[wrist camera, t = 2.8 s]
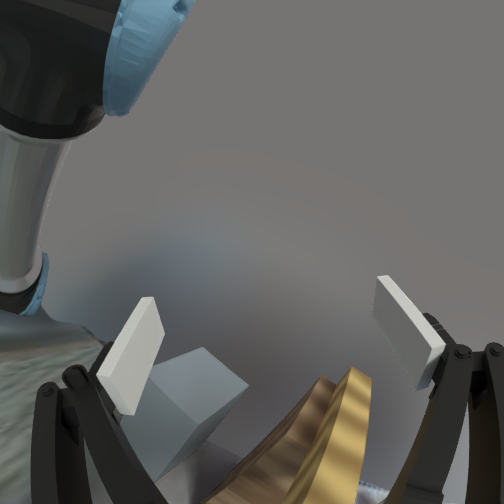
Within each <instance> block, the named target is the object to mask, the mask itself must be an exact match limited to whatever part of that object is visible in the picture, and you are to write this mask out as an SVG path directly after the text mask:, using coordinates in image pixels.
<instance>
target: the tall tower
mask: <svg viewBox="0 0 504 504" xmlns="http://www.w3.org/2000/svg"><path fill="white" fill-rule="evenodd" d="M335 387H336V384H334V383H333V382H331V381H330V380H328V379H327V378H325V377H324V376H322V375H321V376H320V377H319V379H318V380H317V381H316V382H315V384H314V385H313V386H312V387H311V388H310V390H309V391H308V392H307V393H306V394H305V395H304V396H303V398H302V399H301V400H300V401H299V402H298V403H297V404H296V406H295V407H294V408H293V409H292V410H291V411H290V412H289V413H288V415H287V416H286V417H285V418H284V419H283V420H282V421H281V422H280V423H279V424H278V425H277V426H276V427H275V428H274V430H273V431H272V432H271V433H270V434H269V435H268V436H267V437H266V438H265V439H264V440H263V441H262V442H261V443H260V444H259V445H258V446H257V447H256V448H255V449H253V451H251V453H249V455H247V456H246V457H245V458H244V459H243V460H242V461H241V462H240V463H239V464H238V465H237V466H236V467H235V468H234V469H233V470H232V471H231V473H230V474H229V475H228V476H227V477H226V478H225V479H224V480H223V481H222V482H221V483H220V484H219V485H218V486H217V487H216V488H215V489H214V490H213V491H212V492H211V493H210V494H209V495H208V496H207V497H206V498H205V499H204V500H203V501H202V502H201V503H200V504H281V503H282V501H283V499H284V497H285V496H286V494H287V492H288V490H289V488H290V487H291V485H292V483H293V481H294V479H295V477H296V475H297V474H298V472H299V470H300V468H301V466H302V464H303V462H304V460H305V458H306V456H307V453H308V451H309V449H310V447H311V445H312V443H313V441H314V438H315V436H316V434H317V432H318V429H319V427H320V425H321V422H322V420H323V418H324V415H325V413H326V410H327V408H328V406H329V403H330V400H331V398H332V395H333V393H334V390H335ZM369 414H370V409H369ZM368 423H369V419H368ZM367 432H368V427H367ZM366 440H367V435H366ZM365 447H366V443H365ZM364 453H365V450H364ZM363 460H364V456H363ZM362 465H363V462H362ZM361 471H362V468H361ZM360 477H361V473H360ZM359 480H360V478H359Z"/></svg>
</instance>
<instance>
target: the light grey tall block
mask: <svg viewBox="0 0 504 504" xmlns="http://www.w3.org/2000/svg"><path fill="white" fill-rule="evenodd" d="M248 386H249V385H248V384H247V383H245V382H244V381H243V380H242V379H240V378H239V377H238V376H237V375H235V374H234V373H233V372H232V371H230V370H229V369H228V368H227V367H226V366H224V365H223V364H222V363H221V362H220V361H218V360H217V359H216V358H215V357H214V356H212V355H211V354H210V353H209V352H208V351H207V350H205V349H204V348H203V347H201V348H199V349H197V350H194V351H191V352H189V353H186V354H184V355H181V356H178V357H176V358H173V359H171V360H168V361H165V362H163V363H160V364H157V365H155V366H152V368H151V371H150V373H149V376H148V378H147V381H146V384H145V386H144V389H143V392H142V395H141V397H140V400H139V403H138V406H137V408H136V411H135V414H134V416H133V415H126V414H123V417H122V419H121V422H120V426H121V428H122V430H123V432H124V434H125V436H126V437H127V439H128V441H129V443H130V445H131V447H132V448H133V450H134V452H135V454H136V455H137V457H138V459H139V460H140V462H141V464H142V465H143V467H144V469H145V470H146V472H147V473H148V475H149V476H150V478H151V480H152V481H153V483H154V482H155V481H157V480H158V479H159V478H161V477H162V476H164V475H165V474H166V473H168V472H169V471H170V470H172V469H173V468H174V467H176V466H177V465H178V464H180V463H181V462H182V461H184V460H185V459H186V458H187V457H189V456H190V455H191V454H192V453H194V452H195V451H196V450H197V449H199V448H200V446H201V445H202V444H203V443H204V442H205V440H206V439H207V438H208V437H209V435H210V434H211V433H212V432H213V431H214V430H215V428H216V427H217V426H218V425H219V424H220V422H221V421H222V420H223V419H224V417H225V416H226V415H227V413H228V412H229V411H230V410H231V408H232V407H233V406H234V405H235V403H236V402H237V401H238V399H239V398H240V397H241V395H242V394H243V393H244V392H245V390H246V389H247V387H248Z"/></svg>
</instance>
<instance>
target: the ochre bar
mask: <svg viewBox="0 0 504 504" xmlns="http://www.w3.org/2000/svg"><path fill="white" fill-rule="evenodd" d="M371 383H372V379H370V378H369V377H367V376H366V375H364V374H363V373H361V372H360V371H358V370H357V369H355V368H354V367H351V368H350V369H349V370H348V371H347V373H346V374H345V375H344V376H343V378H342V379H341V380H340V381H339V383H338V384H337V385H336V387H335V390H334V393H333V395H332V398H331V400H330V403H329V406H328V408H327V410H326V413H325V415H324V418H323V420H322V422H321V425H320V427H319V429H318V432H317V434H316V436H315V438H314V441H313V443H312V445H311V447H310V449H309V451H308V453H307V456H306V458H305V460H304V462H303V464H302V466H301V468H300V470H299V472H298V474H297V475H296V477H295V479H294V481H293V483H292V485H291V487H290V488H289V490H288V492H287V494H286V496H285V497H284V499H283V501H282V503H281V504H354V502H355V497H356V493H357V488H358V483H359V478H360V473H361V468H362V462H363V456H364V450H365V443H366V435H367V427H368V419H369V409H370V397H371Z"/></svg>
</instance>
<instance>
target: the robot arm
mask: <svg viewBox="0 0 504 504" xmlns="http://www.w3.org/2000/svg"><path fill="white" fill-rule="evenodd" d="M195 2H196V0H0V309H2V310H5V311H9V312H12V313H15V314H17V315H20V316H21V315H25V316H33V315H35V314H36V313H37V312H38V310H39V307H40V305H41V302H42V296H43V294H44V290H45V286H46V281H47V275H48V268H49V258H48V255H47V254H46V253H45V252H43V251H42V250H41V247H40V244H39V242H38V239H39V236H40V232H41V228H42V224H43V221H44V217H45V214H46V211H47V208H48V204H49V201H50V198H51V195H52V192H53V190H54V187H55V184H56V181H57V179H58V176H59V173H60V171H61V168H62V166H63V163H64V161H65V158H66V156H67V154H68V151H69V149H70V147H71V145H72V142H73V140H75V139H78V138H80V137H83V136H85V135H87V134H89V133H90V132H92V131H93V130H94V129H95V128H96V127H97V126H98V125H99V124H100V122H101V120H102V118H103V117H104V115H105V114H107V115H109V116H119V117H123V116H125V115H127V114H128V113H129V111H130V109H131V108H132V107H133V106H134V104H135V103H136V101H137V100H138V98H139V96H140V94H141V93H142V91H143V89H144V88H145V86H146V84H147V83H148V81H149V79H150V77H151V76H152V74H153V72H154V71H155V69H156V67H157V66H158V64H159V62H160V61H161V59H162V57H163V55H164V53H165V52H166V50H167V49H168V47H169V46H170V44H171V42H172V41H173V38H174V37H175V36H176V34H177V33H178V31H179V29H180V28H181V26H182V24H183V23H184V21H185V19H186V18H187V16H188V15H189V13H190V11H191V9H192V8H193V6H194V4H195ZM372 316H373V318H374V320H375V321H376V323H377V325H378V326H379V328H380V330H381V331H382V333H383V335H384V336H385V338H386V340H387V341H388V343H389V345H390V347H391V348H392V350H393V352H394V354H395V355H396V357H397V359H398V361H399V362H400V364H401V366H402V368H403V369H404V372H405V373H406V375H407V377H408V379H409V381H410V382H411V384H412V386H413V388H414V390H415V391H418V390H421V389H424V388H427V387H428V386H429V384H430V382H431V380H432V379H433V381H434V383H435V386H434V388H433V390H432V392H431V394H430V396H429V399H430V400H429V404H428V406H427V409H426V412H425V415H424V418H423V421H422V423H421V426H420V429H419V431H418V434H417V436H416V439H415V441H414V444H413V446H412V448H411V451H410V453H409V455H408V458H407V459H406V462H405V464H404V466H403V468H402V470H401V472H400V474H399V476H398V478H397V480H396V482H395V484H394V486H393V487H392V489H391V491H390V493H389V494H388V496H387V498H386V500H385V501H384V503H383V504H442V501H443V497H444V495H443V494H442V489H443V486H444V484H445V481H446V478H447V476H448V473H449V470H450V467H451V464H452V461H453V458H454V455H455V451H456V448H457V445H458V441H459V437H460V433H461V429H462V425H463V421H464V416H465V412H466V407H467V402H468V412H469V445H470V446H469V469H468V483H467V492H466V499H465V504H504V347H503V346H502V345H500V344H498V343H494V342H493V343H489V344H487V346H486V348H485V350H484V351H482V352H481V351H480V352H472V350H471V349H470V348H469V347H467V346H465V345H461V344H456V343H455V341H454V340H453V339H452V338H451V337H450V335H449V334H448V333H447V332H446V331H445V329H443V327H442V326H441V325H440V324H439V322H438V321H437V320H436V319H435V317H433V316H431V315H430V314H428V313H424V314H421V313H420V311H419V310H418V309H417V308H416V307H415V306H414V304H413V303H412V302H411V301H410V300H409V298H408V297H407V296H406V295H405V294H404V293H403V292H402V290H401V289H400V288H399V287H398V286H397V285H396V284H395V283H394V282H393V280H392V279H391V278H390V277H389V276H388V275H386V276H378V277H377V279H376V288H375V297H374V304H373V311H372ZM164 335H165V332H164V329H163V327H162V323H161V320H160V317H159V314H158V310H157V307H156V304H155V300H154V297H142V299H141V300H140V302H139V303H138V305H137V306H136V308H135V310H134V311H133V313H132V314H131V316H130V318H129V319H128V321H127V323H126V324H125V326H124V327H123V329H122V331H121V332H120V334H119V336H118V338H117V339H116V341H115V342H109V343H108V344H107V345H105V346H104V347H103V349H102V350H101V352H100V354H99V355H98V357H97V359H96V361H95V362H94V364H93V365H92V367H91V369H90V371H89V372H87V370H86V369H85V367H84V366H82V365H73V366H70V367H69V368H67V369H66V370H65V371H64V372H63V374H62V380H63V382H64V383H65V385H66V386H67V388H64V389H59V387H58V386H57V385H56V383H54V382H47V383H44V384H43V385H42V386H41V387H40V388H39V389H38V392H37V396H36V403H35V411H34V419H33V429H32V443H31V497H32V504H92V499H91V494H90V488H89V482H88V476H87V468H86V460H85V451H84V439H83V435H84V438H85V441H86V444H87V446H88V449H89V452H90V454H91V457H92V459H93V461H94V464H95V466H96V468H97V471H98V473H99V475H100V477H101V480H102V482H103V484H104V486H105V488H106V490H107V492H108V494H109V496H110V498H111V500H112V502H113V504H168V502H167V501H166V500H165V498H164V497H163V496H162V494H161V493H160V491H159V490H158V488H157V487H156V485H155V484H154V483H153V481H152V480H151V478H150V476H149V475H148V473H147V472H146V470H145V469H144V467H143V465H142V464H141V462H140V460H139V459H138V457H137V455H136V454H135V452H134V450H133V448H132V447H131V445H130V443H129V441H128V439H127V437H126V436H125V434H124V432H123V430H122V428H121V426H120V424H119V422H118V420H117V418H116V416H115V414H114V413H113V411H114V409H115V407H116V408H117V409H118V411H119V412H120V414H126V415H133V416H134V414H135V411H136V408H137V406H138V403H139V400H140V397H141V395H142V392H143V389H144V386H145V384H146V381H147V378H148V376H149V373H150V371H151V368H152V365H153V363H154V360H155V357H156V355H157V352H158V350H159V347H160V345H161V342H162V340H163V337H164Z"/></svg>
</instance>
